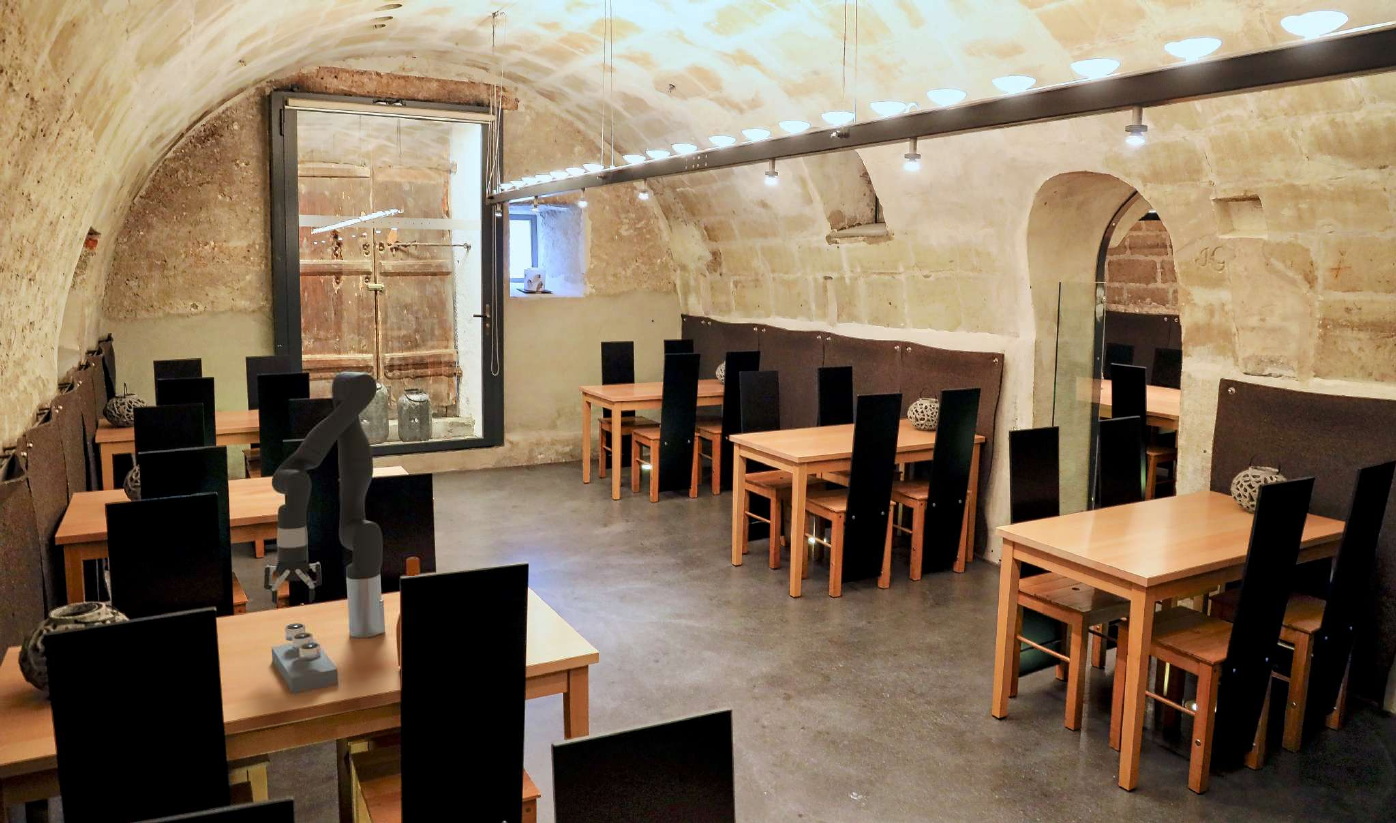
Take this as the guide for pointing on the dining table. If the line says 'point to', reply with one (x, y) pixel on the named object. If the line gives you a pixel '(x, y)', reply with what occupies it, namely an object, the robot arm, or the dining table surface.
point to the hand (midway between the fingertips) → (293, 602)
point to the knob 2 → (301, 640)
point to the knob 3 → (310, 652)
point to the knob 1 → (294, 630)
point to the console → (303, 669)
